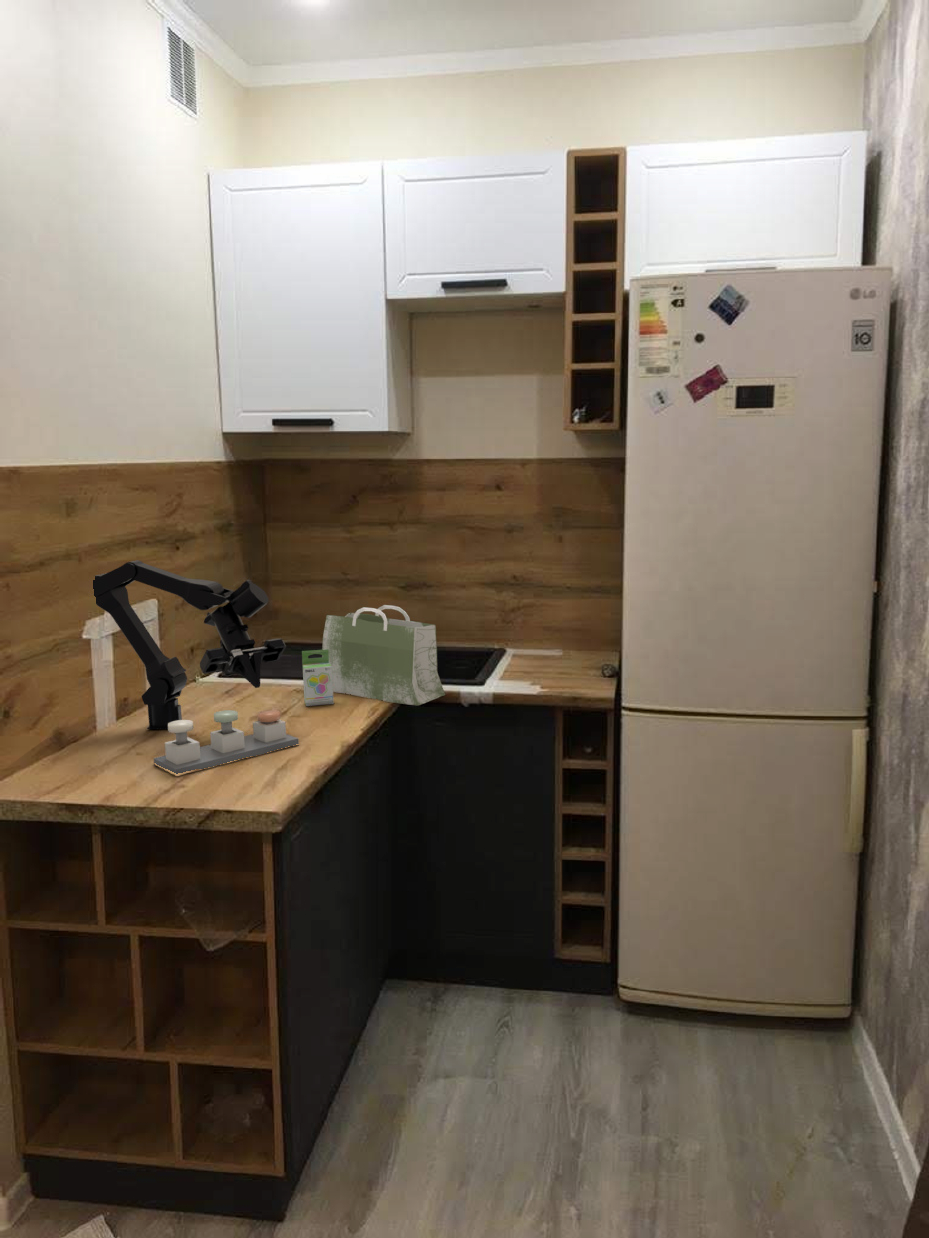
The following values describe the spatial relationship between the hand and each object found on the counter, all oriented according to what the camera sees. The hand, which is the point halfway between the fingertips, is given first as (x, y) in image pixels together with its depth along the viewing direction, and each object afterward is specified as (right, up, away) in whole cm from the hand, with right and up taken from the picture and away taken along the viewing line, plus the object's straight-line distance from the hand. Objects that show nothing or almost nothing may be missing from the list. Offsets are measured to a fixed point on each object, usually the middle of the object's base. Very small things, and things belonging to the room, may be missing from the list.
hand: (258, 686), depth 204 cm
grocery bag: (+23, -5, +41) cm, 48 cm away
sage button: (-5, -9, -9) cm, 13 cm away
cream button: (-12, -11, -15) cm, 22 cm away
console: (-4, -14, -8) cm, 16 cm away
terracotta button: (+3, -10, -2) cm, 11 cm away
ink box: (+8, -7, +32) cm, 33 cm away
